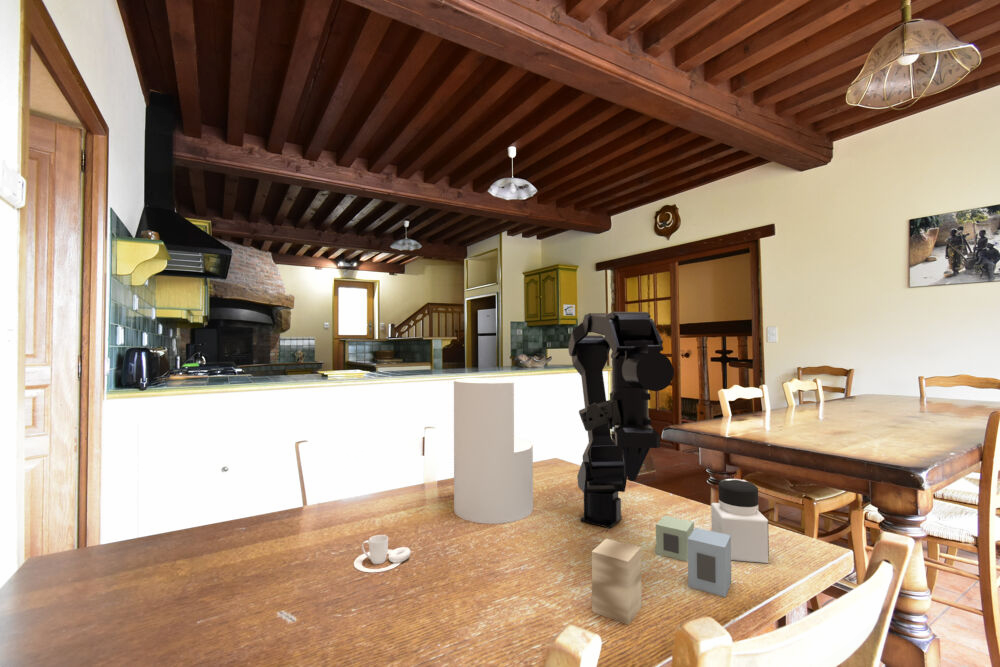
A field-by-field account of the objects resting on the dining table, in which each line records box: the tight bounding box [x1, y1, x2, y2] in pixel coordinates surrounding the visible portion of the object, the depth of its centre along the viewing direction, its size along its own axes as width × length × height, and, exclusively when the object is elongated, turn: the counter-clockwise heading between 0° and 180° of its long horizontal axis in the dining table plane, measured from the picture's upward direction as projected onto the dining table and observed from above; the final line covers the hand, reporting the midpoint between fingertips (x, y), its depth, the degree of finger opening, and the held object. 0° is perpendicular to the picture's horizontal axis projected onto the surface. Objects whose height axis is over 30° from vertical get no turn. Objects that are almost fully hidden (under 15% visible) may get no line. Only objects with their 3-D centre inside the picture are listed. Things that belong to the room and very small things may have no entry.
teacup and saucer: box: [353, 534, 412, 574], centre depth 75 cm, size 9×8×4 cm
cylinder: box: [453, 377, 534, 525], centre depth 100 cm, size 17×17×28 cm
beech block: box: [591, 538, 643, 626], centre depth 61 cm, size 5×5×8 cm
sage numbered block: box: [655, 515, 695, 562], centre depth 78 cm, size 5×5×5 cm
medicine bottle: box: [710, 478, 770, 564], centre depth 78 cm, size 7×7×12 cm
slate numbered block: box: [687, 527, 732, 598], centre depth 68 cm, size 5×5×7 cm
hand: (631, 480), depth 75 cm, fingers closed
